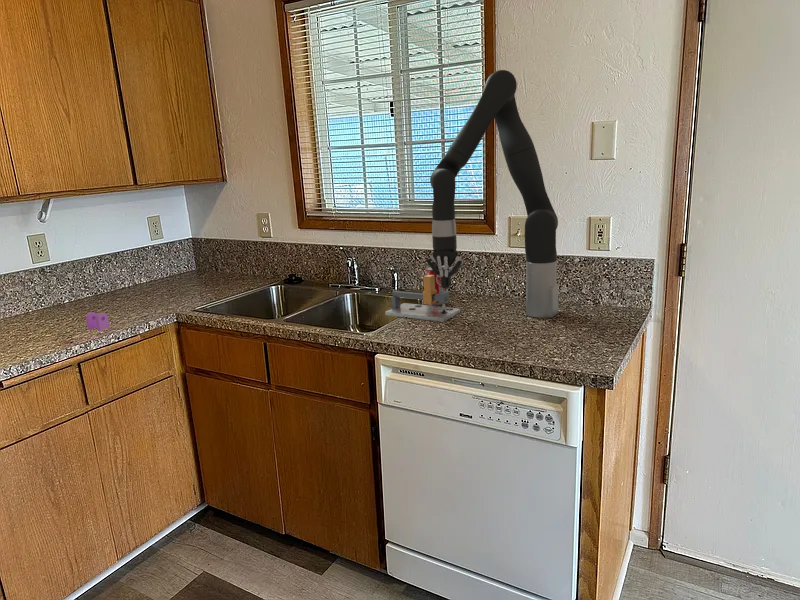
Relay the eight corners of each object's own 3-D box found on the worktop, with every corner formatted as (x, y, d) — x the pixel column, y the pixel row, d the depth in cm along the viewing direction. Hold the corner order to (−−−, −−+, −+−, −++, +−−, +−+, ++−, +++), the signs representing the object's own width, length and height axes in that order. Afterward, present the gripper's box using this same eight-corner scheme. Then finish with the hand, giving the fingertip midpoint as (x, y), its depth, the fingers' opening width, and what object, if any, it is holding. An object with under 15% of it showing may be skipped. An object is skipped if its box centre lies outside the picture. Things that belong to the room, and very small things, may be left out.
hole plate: (460, 312, 187) (460, 308, 186) (443, 321, 177) (443, 318, 177) (404, 306, 198) (404, 302, 198) (385, 315, 189) (385, 311, 188)
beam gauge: (449, 311, 184) (448, 291, 182) (444, 314, 181) (443, 293, 180) (396, 305, 195) (395, 286, 193) (391, 308, 192) (390, 289, 190)
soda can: (439, 307, 194) (437, 270, 191) (422, 305, 199) (420, 268, 195) (450, 302, 200) (449, 266, 197) (433, 300, 204) (431, 265, 201)
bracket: (98, 330, 191) (94, 311, 189) (110, 331, 189) (106, 311, 187) (64, 343, 179) (59, 322, 177) (77, 344, 177) (72, 322, 175)
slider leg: (437, 308, 187) (435, 274, 184) (431, 311, 183) (430, 277, 180) (429, 307, 188) (427, 274, 185) (423, 311, 185) (421, 276, 182)
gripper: (468, 232, 176) (469, 286, 180) (431, 231, 183) (433, 283, 187) (458, 236, 170) (459, 292, 174) (420, 235, 177) (422, 288, 181)
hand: (446, 287), depth 180 cm, fingers closed
